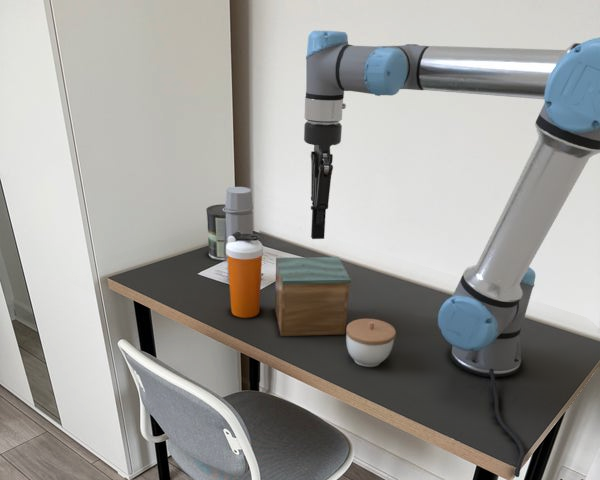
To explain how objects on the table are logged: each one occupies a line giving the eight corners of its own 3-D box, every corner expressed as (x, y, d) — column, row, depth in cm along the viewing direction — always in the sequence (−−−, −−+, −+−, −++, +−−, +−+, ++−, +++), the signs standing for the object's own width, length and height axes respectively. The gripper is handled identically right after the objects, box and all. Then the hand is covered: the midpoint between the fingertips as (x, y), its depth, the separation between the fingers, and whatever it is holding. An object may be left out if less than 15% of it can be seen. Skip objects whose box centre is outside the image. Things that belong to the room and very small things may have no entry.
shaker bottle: (257, 321, 145) (257, 243, 134) (223, 317, 147) (220, 238, 136) (266, 306, 153) (267, 231, 142) (233, 302, 154) (231, 227, 143)
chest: (344, 334, 142) (349, 282, 134) (280, 336, 140) (282, 283, 132) (334, 309, 153) (338, 260, 146) (275, 310, 151) (276, 261, 144)
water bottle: (259, 279, 168) (259, 189, 154) (242, 288, 162) (240, 195, 148) (233, 271, 172) (231, 183, 158) (216, 280, 166) (212, 189, 152)
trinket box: (353, 344, 138) (357, 307, 132) (397, 355, 134) (403, 318, 129) (336, 364, 130) (339, 326, 124) (382, 377, 126) (387, 338, 121)
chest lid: (350, 283, 133) (350, 279, 133) (282, 284, 131) (282, 280, 131) (338, 260, 146) (338, 257, 145) (276, 260, 144) (276, 257, 143)
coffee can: (202, 256, 180) (199, 210, 172) (219, 246, 188) (217, 202, 180) (231, 262, 177) (230, 216, 169) (247, 252, 185) (247, 207, 177)
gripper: (348, 127, 112) (339, 247, 125) (335, 116, 123) (329, 228, 136) (309, 127, 111) (305, 248, 124) (300, 116, 122) (297, 228, 135)
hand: (317, 237), depth 130 cm, fingers closed
